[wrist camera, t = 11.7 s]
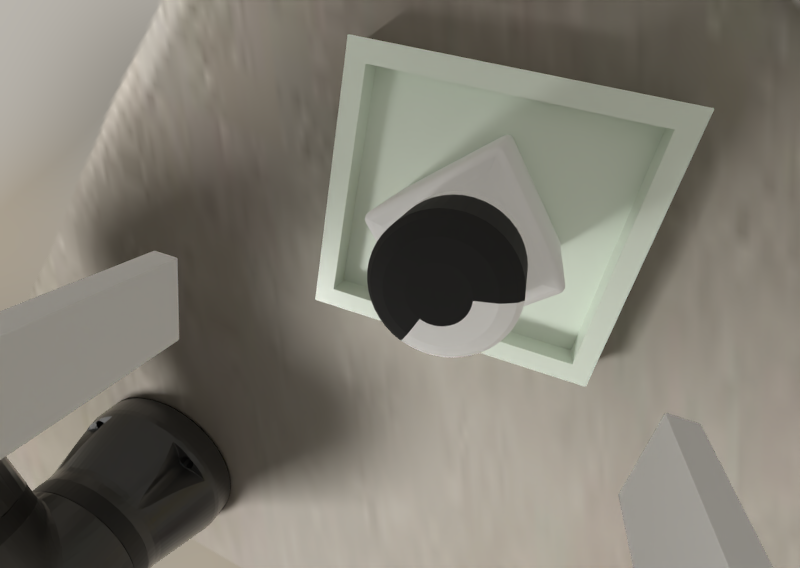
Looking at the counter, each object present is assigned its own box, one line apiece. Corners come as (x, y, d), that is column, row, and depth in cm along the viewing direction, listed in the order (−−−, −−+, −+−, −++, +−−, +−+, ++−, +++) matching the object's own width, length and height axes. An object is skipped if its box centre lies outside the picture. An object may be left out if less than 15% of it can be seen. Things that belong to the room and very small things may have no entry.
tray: (330, 285, 33) (315, 299, 30) (364, 39, 26) (347, 34, 24) (582, 365, 29) (585, 387, 27) (697, 107, 22) (714, 108, 20)
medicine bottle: (401, 189, 28) (313, 247, 17) (511, 131, 25) (486, 157, 14) (453, 288, 29) (401, 399, 18) (562, 245, 26) (575, 347, 15)
